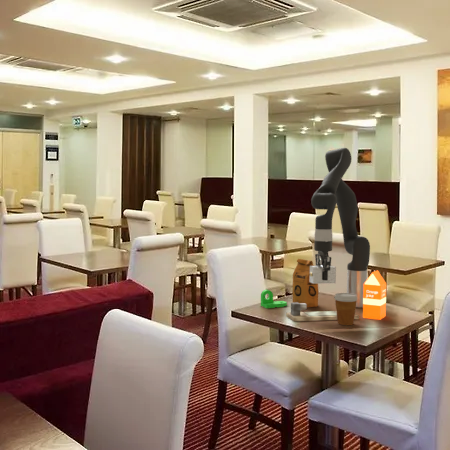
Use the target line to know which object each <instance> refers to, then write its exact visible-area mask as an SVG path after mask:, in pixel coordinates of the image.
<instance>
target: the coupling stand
mask: <svg viewBox="0 0 450 450" xmlns="http://www.w3.org/2000/svg"><path fill="white" fill-rule="evenodd" d="M285 317H286V318H288V319H290V320H292V322H313V321H338V320H337V311H336V310H329V311H328V310H326V311H325V310H323V311H307V304H305V303H298V302H293V301H292V302H290V312H289V311H287V312H286V313H285ZM354 320H360V315H358V314H356V313H355V316H354Z"/></svg>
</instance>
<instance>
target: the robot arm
mask: <svg viewBox="0 0 450 450" xmlns="http://www.w3.org/2000/svg"><path fill="white" fill-rule="evenodd" d="M324 158H325V164H326V167H327V171H328V173H326V175H325V176H324V178H323V180H322V182H321V185H320V187H319V188H318V189H316V191H315V192H314V193H313V195H312V196H311V201H310V203H311V206H312V208H313V209H315V210H324V211H325V210H326V212H325V213H324V214H319V215H316V217H315V220H314V221H315V222H314V223H315V225H314V226H315V229H314V240H313V241H314V249H313V250H314V251H316V252H317V253H315V254H314V255H315V256H314V257H315V266H322V271H323V272H322V280H328V271H330V267H331V266H332V256H330V255H329V252H332V251H333V217H334V214H335V213H334V212H335V210H336V207H337V212H338V214H339V219H340V224H341V230H342V238H343V245H344V249H345V251H346V253H347V254H349V255H352V259H351V261H350V262H348V263H347V267H346V271H347V272H346V293H351V294H356V295H357V298H358V299H357V302H356V308H363V284H364V283H365V282H366V280H367V279H368V266H369V264H370V253H371V245H370V241H369V239H368V238H366V237H365V236H361V235H360V236H359V234H358V230H357V225H356V223H357V222H356V221H357V217H358V212H359V211H358V210H359V207H358V201H357V197H356V194H355V192H354V191H353V190H352V189H351V187H350V186H349V185H348V184H347V183H346V182H345V181H344V180H343V178H344V175H345V174H346V173H347V171H348V169H349V168H350V166H351V164H352V155H351V151H350V150H349V148H347V147H341V148H335V149H331V150H328V151H326V152H325V156H324ZM326 267H327V268H326Z"/></svg>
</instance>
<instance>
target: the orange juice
mask: <svg viewBox="0 0 450 450" xmlns="http://www.w3.org/2000/svg"><path fill="white" fill-rule="evenodd" d="M386 311H387V282H386V281H385V279H384V278H383V276H382V275H381V273H380V271H379V270H375V271H372V272H371V274H370V275H369V277H367V280H366V282H365V283H364V284H363V307H362V318H363V319H371V320H380V321H381V320H382V319H384V318H385V317H386V316H387V315H386V313H387V312H386Z"/></svg>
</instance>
